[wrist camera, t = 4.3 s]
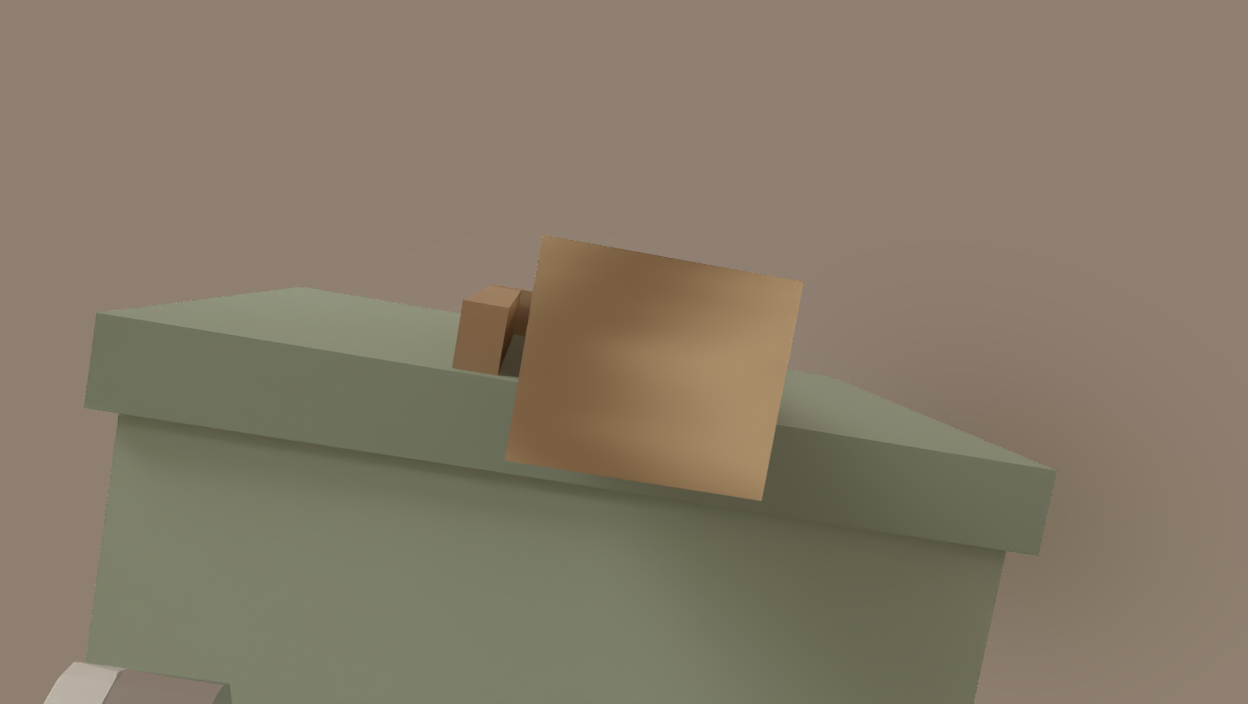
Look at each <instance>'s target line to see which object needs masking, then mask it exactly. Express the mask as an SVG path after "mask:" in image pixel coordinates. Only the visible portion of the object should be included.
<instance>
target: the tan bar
mask: <svg viewBox="0 0 1248 704" xmlns="http://www.w3.org/2000/svg"><path fill="white" fill-rule="evenodd" d="M803 283H804V282H802V281H796V280H790V279H785V278H779V277H774V276H768V275H762V274H757V273H752V272H746V271H740V270H735V269H729V268H724V267H718V266H713V265H707V264H701V263H696V262H691V261H685V260H679V259H674V258H668V257H662V256H657V255H652V254H645V253H641V252H635V251H629V250H624V249H618V248H613V247H607V246H601V245H596V244H590V243H585V242H579V241H574V240H568V239H563V238H557V237H552V236H546V235H543V236H542V242H541V248H540V254H539V260H538V266H537V271H536V277H535V283H534V290H533V295H532V301H531V307H530V313H529V319H528V325H527V331H526V337H525V342H524V348H523V354H522V360H521V366H520V372H519V378H518V384H517V390H516V396H515V402H514V408H513V413H512V419H511V425H510V431H509V437H508V443H507V449H506V455H505V461H510V462H516V463H522V464H529V465H535V466H542V467H548V468H554V469H561V470H567V471H574V472H580V473H586V474H593V475H599V476H606V477H612V478H618V479H625V480H631V481H638V482H644V483H650V484H657V485H663V486H670V487H676V488H682V489H689V490H695V491H702V492H708V493H714V494H721V495H727V496H733V497H740V498H746V499H753V500H759V501H762V496H763V491H764V486H765V481H766V476H767V470H768V465H769V460H770V455H771V450H772V444H773V439H774V434H775V429H776V424H777V418H778V413H779V408H780V403H781V398H782V392H783V387H784V382H785V377H786V372H787V366H788V361H789V356H790V351H791V346H792V340H793V335H794V330H795V324H796V320H797V314H798V309H799V304H800V299H801V293H802V288H803Z"/></svg>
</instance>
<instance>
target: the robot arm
mask: <svg viewBox="0 0 1248 704" xmlns="http://www.w3.org/2000/svg"><path fill="white" fill-rule="evenodd" d="M44 704H232V698H231V689H230V684H229V683H222V682H214V681H207V680H200V679H193V678H186V677H178V676H171V675H164V674H157V673H150V672H142V671H135V670H131V669H128V668H121V667H113V666H105V665H97V664H90V663H82V662H74V663H73V664H72V665H71V666H70V667H69V668H68V669H67V670H66V671H65V672H64V673H63V674H62V675H61V676H60V677H59V678H58V680H57V682H56V684H55V685H54V687H53V689H52V690H51V692H50V694H49V695H48V697H47V699H46V700H45V702H44Z"/></svg>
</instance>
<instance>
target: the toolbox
mask: <svg viewBox="0 0 1248 704" xmlns="http://www.w3.org/2000/svg"><path fill="white" fill-rule="evenodd" d="M532 295H533V291H530V290H525V289H518V288H513V287H507V286H502V285H496V284H492V285H490V286H488V287H487V288H485V289H483V290H481V291H479V292H477V293H475V294H474V295H472V296H470V297H468V298H466V299H464V300H463V303H462V309H461V314H458V313H452V312H447V311H441V310H435V309H429V308H423V307H417V306H411V305H405V304H400V303H394V302H388V301H382V300H376V299H370V298H365V297H359V296H353V295H347V294H341V293H335V292H329V291H323V290H318V289H311V288H306V287H298V288H289V289H281V290H274V291H265V292H257V293H249V294H241V295H233V296H226V297H218V298H209V299H201V300H193V301H186V302H177V303H170V304H162V305H153V306H145V307H137V308H130V309H121V310H113V311H105V312H97V313H96V321H95V328H94V335H93V343H92V351H91V358H90V366H89V374H88V381H87V389H86V396H85V404H84V408H88V409H95V410H101V411H107V412H114V413H119V415H118V423H117V430H116V437H115V446H114V453H113V461H112V467H111V475H110V482H109V489H108V497H107V504H106V512H105V519H104V527H103V534H102V542H101V549H100V557H99V564H98V571H97V579H96V586H95V593H94V601H93V609H92V616H91V623H90V631H89V639H88V646H87V653H86V660H85V663H90V664H97V665H105V666H113V667H121V668H128V669H131V670H135V671H142V672H150V673H157V674H164V675H171V676H178V677H186V678H193V679H200V680H207V681H214V682H222V683H229V684H230V689H231V698H232V704H973V703H974V699H975V694H976V689H977V685H978V680H979V675H980V671H981V666H982V662H983V657H984V652H985V647H986V643H987V638H988V634H989V629H990V624H991V619H992V615H993V610H994V606H995V601H996V596H997V592H998V586H999V582H1000V578H1001V572H1002V568H1003V564H1004V559H1005V554H1006V551H1010V552H1017V553H1023V554H1030V555H1036V556H1038V555H1039V551H1040V546H1041V541H1042V537H1043V532H1044V527H1045V523H1046V519H1047V514H1048V509H1049V505H1050V500H1051V496H1052V491H1053V486H1054V482H1055V477H1056V473H1057V471H1056V470H1054V469H1052V468H1049V467H1047V466H1044V465H1042V464H1040V463H1037V462H1035V461H1033V460H1030V459H1028V458H1025V457H1023V456H1021V455H1018V454H1015V453H1013V452H1011V451H1009V450H1006V449H1004V448H1001V447H999V446H997V445H994V444H992V443H989V442H987V441H985V440H982V439H980V438H977V437H975V436H973V435H970V434H968V433H965V432H963V431H961V430H958V429H956V428H953V427H951V426H949V425H946V424H944V423H941V422H939V421H937V420H934V419H932V418H929V417H927V416H925V415H922V414H920V413H918V412H915V411H913V410H910V409H908V408H905V407H903V406H901V405H898V404H896V403H893V402H891V401H889V400H886V399H884V398H882V397H879V396H877V395H874V394H871V393H870V392H867V391H865V390H862V389H860V388H857V387H855V386H853V385H850V384H848V383H846V382H843V381H841V380H838V379H836V378H834V377H828V376H822V375H815V374H810V373H804V372H798V371H793V370H787V372H786V377H785V382H784V387H783V392H782V398H781V403H780V408H779V413H778V418H777V424H776V429H775V434H774V439H773V444H772V450H771V455H770V460H769V465H768V470H767V476H766V481H765V486H764V491H763V496H762V501H759V500H753V499H746V498H740V497H733V496H727V495H721V494H714V493H708V492H702V491H695V490H689V489H682V488H676V487H670V486H663V485H657V484H650V483H644V482H638V481H631V480H625V479H618V478H612V477H606V476H599V475H593V474H586V473H580V472H574V471H567V470H561V469H554V468H548V467H542V466H535V465H529V464H522V463H516V462H510V461H505V455H506V449H507V443H508V437H509V431H510V425H511V419H512V413H513V408H514V402H515V396H516V390H517V384H518V378H519V372H520V366H521V360H522V354H523V348H524V342H525V337H526V331H527V325H528V319H529V313H530V307H531V301H532Z"/></svg>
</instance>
